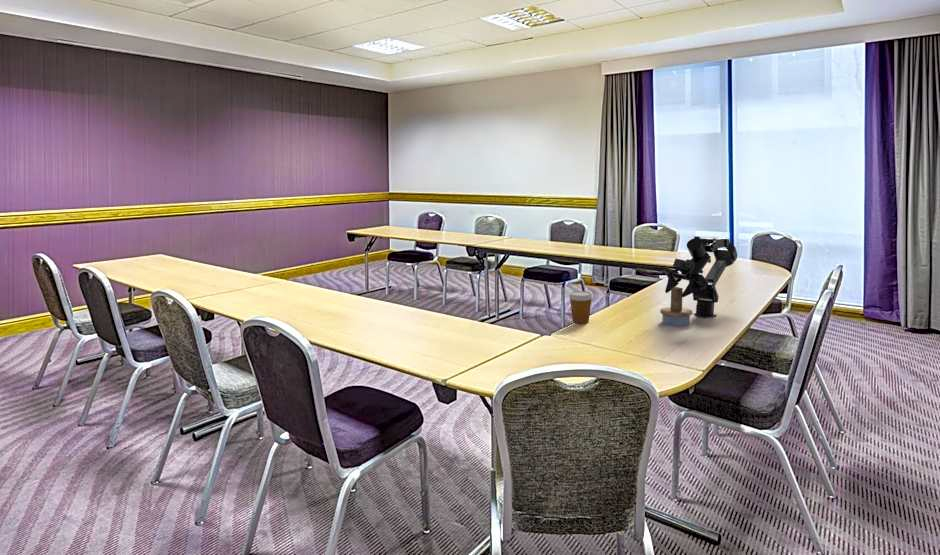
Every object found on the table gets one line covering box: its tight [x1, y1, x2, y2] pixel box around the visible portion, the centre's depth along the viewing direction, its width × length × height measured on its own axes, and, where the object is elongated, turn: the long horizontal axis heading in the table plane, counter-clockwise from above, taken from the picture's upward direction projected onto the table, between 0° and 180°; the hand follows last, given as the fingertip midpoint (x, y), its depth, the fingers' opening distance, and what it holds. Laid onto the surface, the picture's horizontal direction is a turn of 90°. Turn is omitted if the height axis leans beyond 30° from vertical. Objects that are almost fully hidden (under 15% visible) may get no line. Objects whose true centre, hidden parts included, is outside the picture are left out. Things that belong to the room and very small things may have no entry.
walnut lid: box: [659, 286, 693, 316], centre depth 236 cm, size 12×12×10 cm
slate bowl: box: [661, 314, 691, 327], centre depth 237 cm, size 10×10×4 cm
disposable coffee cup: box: [568, 290, 594, 325], centre depth 242 cm, size 10×10×12 cm
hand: (673, 294), depth 235 cm, fingers open, 9 cm apart
